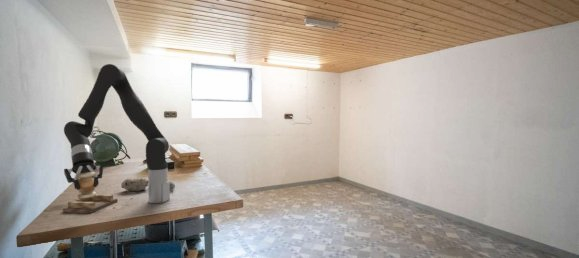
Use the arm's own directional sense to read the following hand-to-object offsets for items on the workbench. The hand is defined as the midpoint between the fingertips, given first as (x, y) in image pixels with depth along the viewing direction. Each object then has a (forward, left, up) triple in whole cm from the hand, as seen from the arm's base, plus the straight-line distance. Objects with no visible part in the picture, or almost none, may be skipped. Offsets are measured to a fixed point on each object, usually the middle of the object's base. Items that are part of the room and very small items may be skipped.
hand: (87, 187), depth 108 cm
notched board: (+13, -15, -14) cm, 24 cm away
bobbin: (+1, -1, -4) cm, 5 cm away
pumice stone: (+11, -43, -15) cm, 47 cm away
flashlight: (-6, -49, -15) cm, 51 cm away
